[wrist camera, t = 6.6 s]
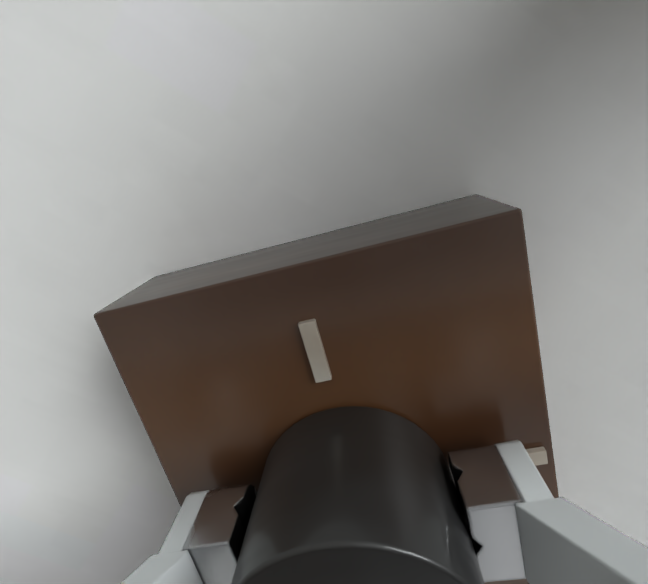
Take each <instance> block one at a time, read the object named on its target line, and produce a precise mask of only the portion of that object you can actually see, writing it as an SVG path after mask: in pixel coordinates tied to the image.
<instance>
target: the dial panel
mask: <svg viewBox="0 0 648 584" xmlns="http://www.w3.org/2000/svg"><path fill="white" fill-rule="evenodd" d="M94 318H95V320H96V322H97V325H98V327H99V329H100V331H101V333H102V335H103V338H104V340H105V342H106V344H107V346H108V349H109V351H110V353H111V355H112V357H113V359H114V362H115V364H116V366H117V368H118V370H119V373H120V375H121V377H122V379H123V381H124V384H125V386H126V388H127V390H128V392H129V394H130V397H131V399H132V401H133V403H134V405H135V408H136V410H137V412H138V414H139V416H140V418H141V421H142V423H143V425H144V427H145V429H146V432H147V434H148V436H149V438H150V440H151V442H152V445H153V447H154V449H155V451H156V453H157V456H158V458H159V460H160V462H161V464H162V466H163V469H164V471H165V473H166V475H167V477H168V480H169V482H170V484H171V486H172V488H173V491H174V493H175V495H176V497H177V499H178V501H179V504H180V506H182V504H183V502H184V500H185V498H186V496H188V495H189V494H190V493H191V492H199V491H206V490H211V489H218V488H225V487H233V486H240V485H247V484H251V485H253V486H254V487H255V489H256V491H257V492H258V488H259V485H260V481H261V478H262V474H263V471H264V467H265V464H266V460H267V457H268V455H269V453H270V451H271V449H272V447H273V446H274V444H275V443H276V441H277V440H278V439H279V438H280V437H281V436H282V435H283V433H284V432H285V431H287V430H288V429H289V428H290V427H292V426H293V425H294V424H295V423H297V422H299V421H300V420H302V419H304V418H305V417H308V416H310V415H312V414H314V413H317V412H320V411H323V410H327V409H331V408H337V407H346V406H362V407H371V408H377V409H381V410H385V411H389V412H392V413H394V414H397V415H399V416H402V417H404V418H405V419H407V420H409V421H411V422H413V423H414V424H416V425H417V426H418V427H420V428H421V429H422V430H424V431H425V432H426V433H427V434H428V435H429V436H430V437H431V438H432V439H433V440H434V441H435V442H436V444H437V445H438V446H439V448H440V449H441V451H442V452H443V454H444V456H445V458H446V460H447V463H448V465H449V459H448V452H453V451H459V450H465V449H471V448H477V447H483V446H489V445H494V444H497V443H502V442H508V441H513V440H519V441H520V442H521V443H522V444H523V446H524V448H525V449H526V451H527V453H528V454H529V456H530V458H531V460H532V461H533V463H534V465H535V466H536V468H537V470H538V471H539V473H540V475H541V477H542V478H543V480H544V482H545V483H546V485H547V487H548V488H549V490H550V492H551V494H552V495H553V497H554V498H559V496H558V488H557V480H556V473H555V465H554V457H553V449H552V442H551V434H550V426H549V418H548V411H547V403H546V395H545V387H544V380H543V372H542V364H541V356H540V349H539V341H538V333H537V325H536V317H535V310H534V302H533V294H532V286H531V279H530V271H529V263H528V255H527V248H526V240H525V232H524V224H523V217H522V210H521V209H520V208H517V207H513V206H510V205H507V204H504V203H501V202H498V201H495V200H492V199H489V198H486V197H483V196H480V195H476V194H475V195H472V196H468V197H464V198H460V199H456V200H452V201H448V202H444V203H440V204H436V205H433V206H429V207H425V208H421V209H417V210H413V211H409V212H405V213H401V214H397V215H394V216H390V217H386V218H382V219H378V220H374V221H370V222H366V223H362V224H358V225H355V226H351V227H347V228H343V229H339V230H335V231H331V232H327V233H323V234H319V235H316V236H312V237H308V238H304V239H300V240H296V241H292V242H288V243H284V244H280V245H277V246H273V247H269V248H265V249H261V250H257V251H253V252H249V253H245V254H241V255H238V256H234V257H230V258H226V259H222V260H218V261H214V262H210V263H206V264H202V265H199V266H195V267H191V268H187V269H183V270H179V271H175V272H171V273H167V274H163V275H160V276H156V277H154V278H152V279H151V280H149V281H147V282H146V283H144V284H142V285H141V286H139V287H138V288H136V289H134V290H133V291H131V292H129V293H128V294H126V295H125V296H123V297H121V298H120V299H118V300H116V301H115V302H113V303H112V304H110V305H108V306H107V307H105V308H103V309H102V310H100V311H99V312H97V313H95V314H94ZM449 468H450V465H449ZM450 471H451V469H450ZM451 475H452V472H451ZM452 478H453V476H452ZM453 481H454V479H453ZM484 583H485V584H529V583H528V582H527V579H517V580H505V581H494V582H484Z"/></svg>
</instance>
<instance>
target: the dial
mask: <svg viewBox="0 0 648 584" xmlns="http://www.w3.org/2000/svg"><path fill="white" fill-rule="evenodd" d="M231 584H485V583H484V580H483V576H482V573H481V570H480V566H479V563H478V560H477V557H476V553H475V550H474V547H473V544H472V540H471V537H470V534H469V530H468V527H467V524H466V521H465V517H464V514H463V511H462V507H461V504H460V501H459V498H458V494H457V491H456V488H455V484H454V481H453V478H452V475H451V471H450V468H449V465H448V463H447V460H446V458H445V456H444V454H443V452H442V451H441V449H440V448H439V446H438V445H437V444H436V442H435V441H434V440H433V439H432V438H431V437H430V436H429V435H428V434H427V433H426V432H425V431H424V430H422V429H421V428H420V427H418V426H417V425H416V424H414V423H413V422H411V421H409V420H407V419H405V418H404V417H402V416H399V415H397V414H394V413H392V412H389V411H385V410H381V409H377V408H371V407H362V406H346V407H337V408H331V409H327V410H323V411H320V412H317V413H314V414H312V415H310V416H308V417H305V418H304V419H302V420H300V421H299V422H297V423H295V424H294V425H293V426H292V427H290V428H289V429H288V430H287V431H285V432H284V433H283V435H282V436H281V437H280V438H279V439H278V440H277V441H276V443H275V444H274V446H273V447H272V449H271V451H270V453H269V455H268V457H267V460H266V464H265V467H264V471H263V474H262V478H261V481H260V485H259V488H258V492H257V495H256V499H255V502H254V506H253V509H252V513H251V516H250V520H249V523H248V526H247V530H246V533H245V537H244V540H243V544H242V547H241V551H240V554H239V558H238V561H237V565H236V568H235V572H234V575H233V579H232V582H231Z"/></svg>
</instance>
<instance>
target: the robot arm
mask: <svg viewBox="0 0 648 584" xmlns="http://www.w3.org/2000/svg"><path fill="white" fill-rule="evenodd" d="M448 459H449V465H450V469H451V472H452V476H453V479H454V484H455V488H456V491H457V494H458V498H459V501H460V504H461V507H462V511H463V514H464V517H465V521H466V524H467V527H468V530H469V534H470V537H471V540H472V544H473V547H474V550H475V553H476V557H477V560H478V563H479V566H480V570H481V573H482V576H483V580H484V582H494V581H505V580H517V579H527V582H528V583H529V584H648V547H646V546H645V545H643V544H641V543H640V542H638V541H636V540H634V539H633V538H631V537H629V536H628V535H626V534H624V533H622V532H621V531H619V530H617V529H616V528H614V527H612V526H611V525H609V524H607V523H605V522H604V521H602V520H600V519H599V518H597V517H595V516H593V515H592V514H590V513H588V512H587V511H585V510H583V509H582V508H580V507H578V506H576V505H575V504H573V503H571V502H570V501H568V500H566V499H564V498H563V497H559V498H554V497H553V495H552V494H551V492H550V490H549V488H548V487H547V485H546V483H545V482H544V480H543V478H542V477H541V475H540V473H539V471H538V470H537V468H536V466H535V465H534V463H533V461H532V460H531V458H530V456H529V454H528V453H527V451H526V449H525V448H524V446H523V444H522V443H521V442H520V441H519V440H513V441H508V442H502V443H497V444H494V445H489V446H483V447H477V448H471V449H465V450H459V451H453V452H448ZM256 495H257V491H256V489H255V487H254V486H253V485H251V484H247V485H240V486H233V487H225V488H218V489H211V490H206V491H199V492H191V493H190V494H189V495H188V496H186V498H185V500H184V502H183V504H182V506H181V508H180V510H179V512H178V514H177V516H176V518H175V520H174V522H173V524H172V527H171V529H170V531H169V533H168V535H167V537H166V539H165V541H164V543H163V545H162V547H161V549H160V551H159V553H158V554H156V555H151V556H150V557H149V558H148V559H147V560H146V561H145V562H144V563H142V564H141V565H140V566H139V567H138V568H137V569H136V570H135V571H134V572H132V573H131V574H130V575H129V576H128V577H127V578H126V579H125V580H124V581H123V582H121V583H120V584H231V582H232V579H233V575H234V572H235V568H236V565H237V561H238V558H239V554H240V551H241V547H242V544H243V540H244V537H245V533H246V530H247V526H248V523H249V520H250V516H251V513H252V509H253V506H254V502H255V499H256Z"/></svg>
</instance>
